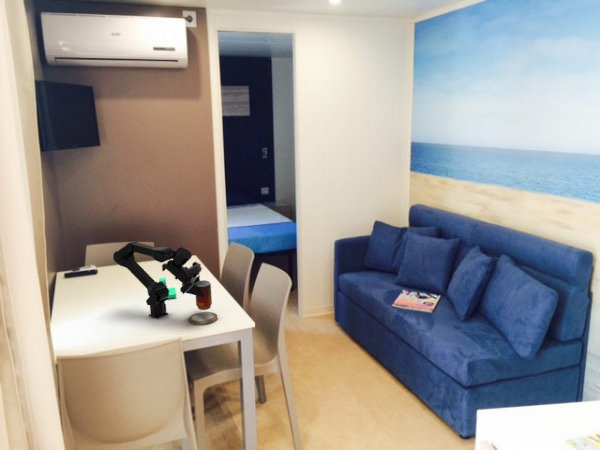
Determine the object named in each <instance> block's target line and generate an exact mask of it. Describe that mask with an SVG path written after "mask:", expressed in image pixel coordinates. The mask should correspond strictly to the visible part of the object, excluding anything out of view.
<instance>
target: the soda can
mask: <svg viewBox="0 0 600 450" xmlns="http://www.w3.org/2000/svg"><path fill="white" fill-rule="evenodd" d="M196 287H197V288H198V289H199V290H200V292H201V293H202V294H203V295H204V296H203V297H199V296H196V295H195V304H196V307H197V309H198V310H200V311H207V310H209V309H211V307H212V304H213V301H212V284H211V282H210V281H208V280H200V281H198V282H197V283H196Z"/></svg>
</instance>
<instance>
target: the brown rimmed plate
mask: <svg viewBox="0 0 600 450" xmlns="http://www.w3.org/2000/svg"><path fill="white" fill-rule="evenodd" d="M217 320H218V314H217V313H215V312H211V311H201V312H197V313H193V314H192V315H190V316H188V318H187V321H188V323H189V324H190V325H192V326H206V325H210V324H214V323H215V322H216V321H217Z"/></svg>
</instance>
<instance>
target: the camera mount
mask: <svg viewBox="0 0 600 450" xmlns="http://www.w3.org/2000/svg"><path fill="white" fill-rule="evenodd" d="M158 280H159V281H158V282H160V281H162V282H163V283H164V285H166V286H167V279H166V276H165V277H159V278H158ZM167 288H168V290H169V296H168V298H167V299H172V298H173V299H174V298H176V297H177V293H176V291H177V290H176V287H167Z"/></svg>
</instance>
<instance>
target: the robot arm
mask: <svg viewBox="0 0 600 450" xmlns="http://www.w3.org/2000/svg"><path fill="white" fill-rule="evenodd" d="M135 253H137V254H141V255H144V256H146V257H147V256H149V257H150V258H152V259H153V260H154V261H156V262H157V263H163V264H162V265H161V271H162V272H165V270H167V271H168V272H169V273H170V274H171V275H172V276H173V277H174V279H175V281H177V280H178V281H179V282H181V287H179V288H180V289H179V290H180V293H182V295H184V294H189V295H193V296H195V297H196V296H199V297H203V296H204V295H203V294H202V293H201V292H200V290H199V289H198V288H197V287H196V283H197V282H198V281H201V275H200V273H201V272H202V270H203V268H202V265H201V263H199V262H197V261H194V262H192V263H191V265H192V266H190V267H188V266H184V265H186V264H187V262H188V261H190V259H192V257H193V255H192V252H191V251H190V250H188V249H186V248H184V247H183V246H179V247H178V248H177V249H176V250H173V249H172V248H171V247H170V246H168V247H167V246H158V247H157V246H153V245H148V244H145V243H141V242H138V241H135V240H134V241H131V242H128V243H127V244H125V245H124V246H122V248H120V249H119V250H117V251H114V252H113V254H112V255H113V257H112V258H113V260H114V262H115V263H116V264H117V265H119V266H121V267H124V268H126V269H127V270H128V271H129V272H130V273H131V274H132V275H133V276H134V277H135V278H136V279H137V280H138V281H139V282H140V283H141V284H142V285H143V287H145V288H146V290H147V291H146V292H147V294H148V298H147V299H146V301H145V302H146V305H147V306H149V310H150V311H149V314H148V317H151V318H154V319H159V318H162V317H165V316H167V315H169V313H168V312H167V304H166V301H167V300H168V299H169V298H168V296H169V290H168V288H169V287H168V286H167V284H166V285H164V283H163V282H162V281H160V282H159V281H158V282H157V281H155V279H153V277H151V275H150V274H149V273H148V272H147V271H145V270H144V268H143V267H142V266H141V265H140V264H139V263H138V262H137V261H136V258H135ZM165 262H166V263H165Z"/></svg>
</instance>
